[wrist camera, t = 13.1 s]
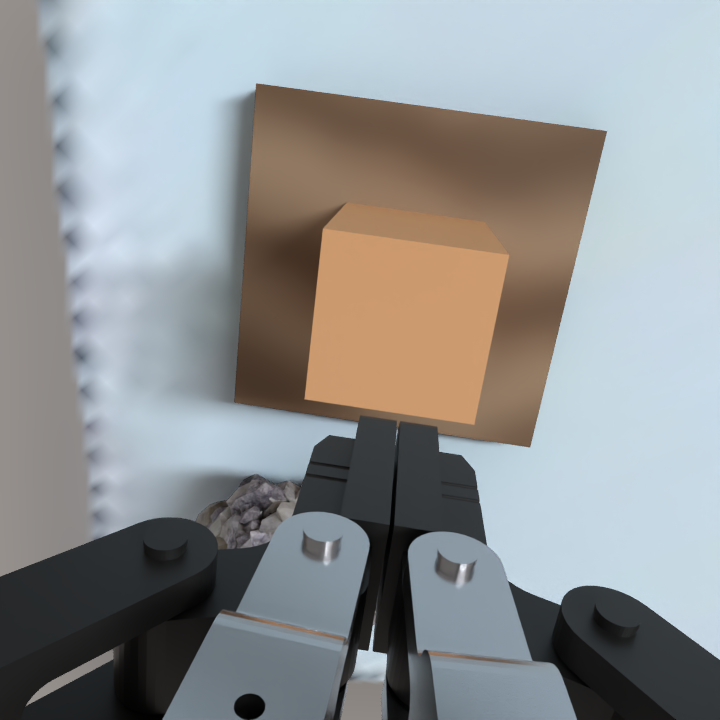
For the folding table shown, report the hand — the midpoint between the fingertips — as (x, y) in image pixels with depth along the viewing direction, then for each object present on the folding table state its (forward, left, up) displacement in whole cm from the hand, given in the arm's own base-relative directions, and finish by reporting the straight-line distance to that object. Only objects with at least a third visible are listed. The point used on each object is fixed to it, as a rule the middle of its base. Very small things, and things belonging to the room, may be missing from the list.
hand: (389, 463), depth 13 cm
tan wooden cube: (0, 0, -17) cm, 17 cm away
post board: (0, 0, -18) cm, 18 cm away
